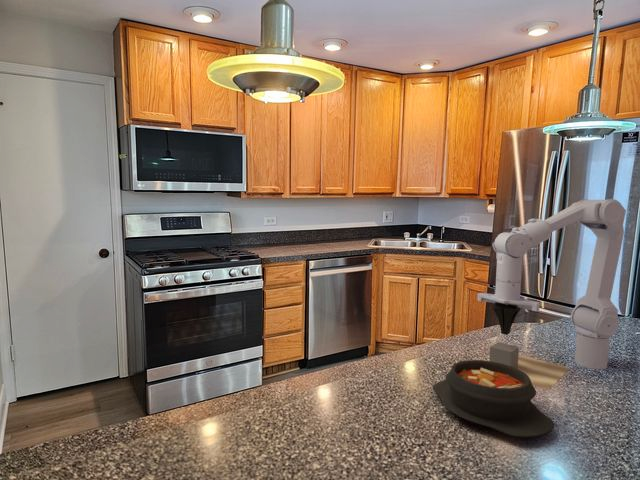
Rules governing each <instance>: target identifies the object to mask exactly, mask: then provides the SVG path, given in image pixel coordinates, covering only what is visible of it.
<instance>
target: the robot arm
mask: <svg viewBox="0 0 640 480" xmlns="http://www.w3.org/2000/svg"><path fill="white" fill-rule="evenodd" d="M626 212H627V210H626V209H625V207H624V206H623V205H622V203H621V202H620V201H619V200H617V199H613V198H612V199H611V198H610V199H609V198H608V199H581V200H579V201H576V202H573V203H572V204H571V205H570V206H568V207H566V208H564V209H563V210H561V211H559V212H557V213H556V214H553V215H551V216H550V217H548V218H546V219H544V220H543V219H541V218H530V219H528V220H527V223H526V224H524V225H521V226H519V227H518V226H517V227H515V226H514V227H513V228H511V231H510V232H507V231H504V232H502V233H499V234H498V235H497V236H496V238H495V240H494V242H492V248H493V251H494V252H495V253H496V255H495V256H496V258H495V259H496V271H495V273H496V275H495V288H494V289H495V293H486V292H479V293H477V298H476V299H477V302H485V303H492V304H494V305H493V307H492V308H493V311H494V313H495V315H496V318H497V320H498V324H499V328H500V334H501V335H505V336H507V335H509V334H510V333H511V330H512V326H513V323H514V321H515V319H516V317H517V316H518V314H519V312H520V311H521V309H523V310H524V309H525V310H531V311H532V312H538V311H540V305H541V304H540V301H535V300H530V299H527V298H526V299H525V298H523V297H521V287H522V285H521V284H522V268H523V265H522V264H523V257H524V256H525V255H526V254H527V253H528V251H529V249H532V248H533V247H535V246H537V245H540V244H541V243H543V242H545V241H547V240H549V239H550V238H551V236H552V233H553V232H555V231H558V230H560V229H562V228H564V227H567V226H570V225H572V224H574V223H576V222H577V223H579V224H581V225H583V226H584V227H586V228H588V229H589V230H590V231H591V232H592V233H593V234H594V235H595V236H596V241H595V246H594V252H593V255H592V261H591V265H590V271H589V275H588V281H587V285H586V290H585V294H584V296H582V297H580V298H578V299H577V300H576V304H575V307H573V310H572V311H571V313H570V320H571V323H572V325H573V326H575V327H574V330H575V331H576V336H575V337H576V339H575V351H574V353H575V354H574V363H575V364H577V365H578V366H580V367H583V368H587V369H592V370H606V369H608V363H609V359H610V356H609V355H610V339H612V338H613V336H614V335H616V333H617V331H618V329H619V323H620V322H619V319H618V313H619V309H618V308H617V306H616V305H615V304H614V303H613V302H612V300H611V298H612V293H613V290H614V289H613V288H614V285H615V284H614V283H615V279H616V275H617V269H618V265H619V259H620V255H621V249H622V245H623V241H624V235H625V230H624V224H625V223H624V221H625V217H626Z"/></svg>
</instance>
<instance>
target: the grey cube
mask: <svg viewBox="0 0 640 480" xmlns="http://www.w3.org/2000/svg"><path fill="white" fill-rule="evenodd" d="M519 351H520V347H519V346H516V345H512V344H509V343H503V342H500V341H497V342H496V343H494V344H493V345H490V346H489V357H488V360H489V361H491V362H497V363H501V364H505V365H508V366H511V367H514V368H516V369H518V355H520V354H519Z"/></svg>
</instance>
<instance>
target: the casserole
mask: <svg viewBox="0 0 640 480" xmlns="http://www.w3.org/2000/svg"><path fill="white" fill-rule="evenodd" d="M432 390H433V391H434V392H435V393H436V394H437V396H438V397H439V398H440V400H441V402H442V405H443V406H444V407H445V408H446V409H447V410H448V411H450V412H451V413H453V414H454V415H456V416H457V417H459V418H461V419H464V420H466V421H468V422H471V423H473V424H477V425H479V426H483V427H487V428H491V429H493V430H496V431H498V432H500V433H502V434H504V435H505V434H506V435H508V436H511V437H515V438H535V437H541V436H545V435H546V434H549V433H551V432H552V431H553V430H554V429H555V423H554V421H553V419H552V418H550V417H549V416H547V415H546V414H545V413H543V412H541V411H540V409H538V407H537V406H536V405H535V404H534V403H533V402H532V400H533V399H534V398H535V397H536V395H537V390H536V387H535V385H532V383H531V380H530V378H529V376H528V375H526V374H525V373H524V372H522V371H520V370H518V369H516V368H514V367H511V366H508V365H505V364H501V363H497V362H491V361H488V360H482V359H481V360H480V359H478V360H477V359H474V360H473V359H470V360H462V361H458V362H456V363H454V364H453V365H452V366H451V367H450V371H448V372H447V373H446V375H445V379H443V380H441V381H438V382H436V383H434V384H433V386H432Z"/></svg>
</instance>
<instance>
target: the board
mask: <svg viewBox="0 0 640 480" xmlns="http://www.w3.org/2000/svg"><path fill="white" fill-rule="evenodd" d="M487 361H489V359H488V360H487ZM570 369H571V367H569V366H564V365H560V364H557V363H552V362H549V361H544V360H541V359H536V358H533V357H529V356H526V355H520V354H518V370H520V371H522V372H524V373H525V374H526V375H528V376H529V378H530V380H531V383H532V385H533V386H534V387H539V388H542V389H546V390H550V389H552V387H553V386H554V385H555V384H556V383H558V381H559V380H560V379H561V378H562V377H563V376H564V375H565V374H566V373H567V372H568V371H569V370H570Z"/></svg>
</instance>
